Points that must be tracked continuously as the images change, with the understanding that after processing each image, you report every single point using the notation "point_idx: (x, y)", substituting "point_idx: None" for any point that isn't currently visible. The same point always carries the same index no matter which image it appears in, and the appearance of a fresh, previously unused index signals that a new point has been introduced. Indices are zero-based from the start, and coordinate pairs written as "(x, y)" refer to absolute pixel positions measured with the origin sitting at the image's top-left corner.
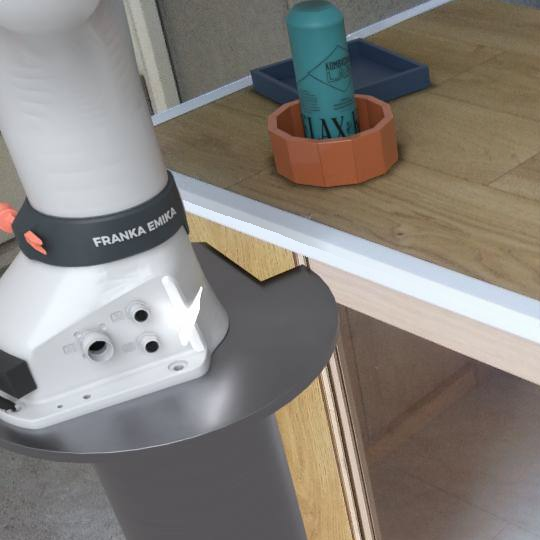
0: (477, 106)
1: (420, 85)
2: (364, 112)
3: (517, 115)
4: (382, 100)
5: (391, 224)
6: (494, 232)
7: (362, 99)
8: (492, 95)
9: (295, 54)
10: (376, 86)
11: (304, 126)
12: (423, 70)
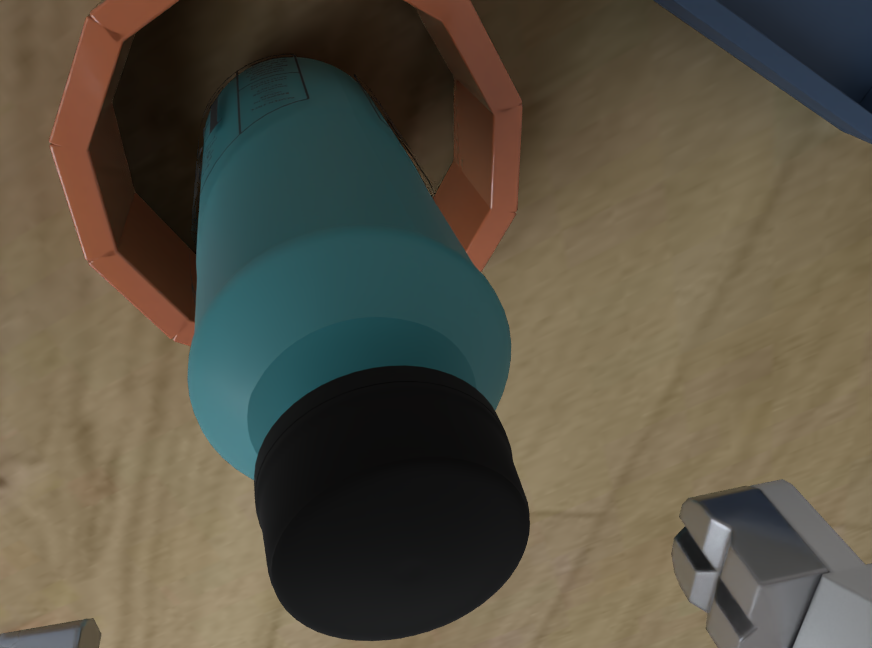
0: (711, 303)
1: (827, 119)
2: (476, 180)
3: (667, 399)
4: (728, 50)
5: (29, 445)
6: (125, 600)
7: (490, 194)
8: (778, 303)
9: (204, 257)
10: (745, 53)
11: (207, 124)
12: (866, 138)
